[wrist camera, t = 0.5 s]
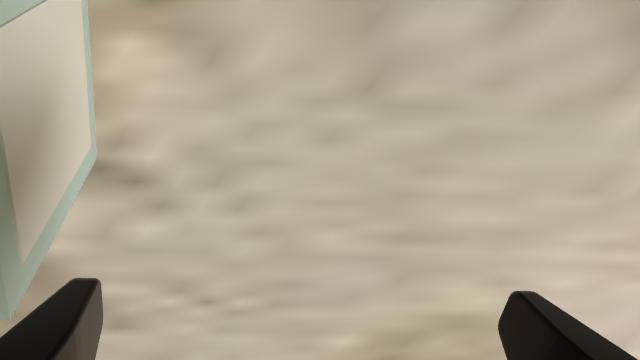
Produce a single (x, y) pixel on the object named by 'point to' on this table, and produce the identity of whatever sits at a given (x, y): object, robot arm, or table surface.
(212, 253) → the table surface
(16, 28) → the tile
